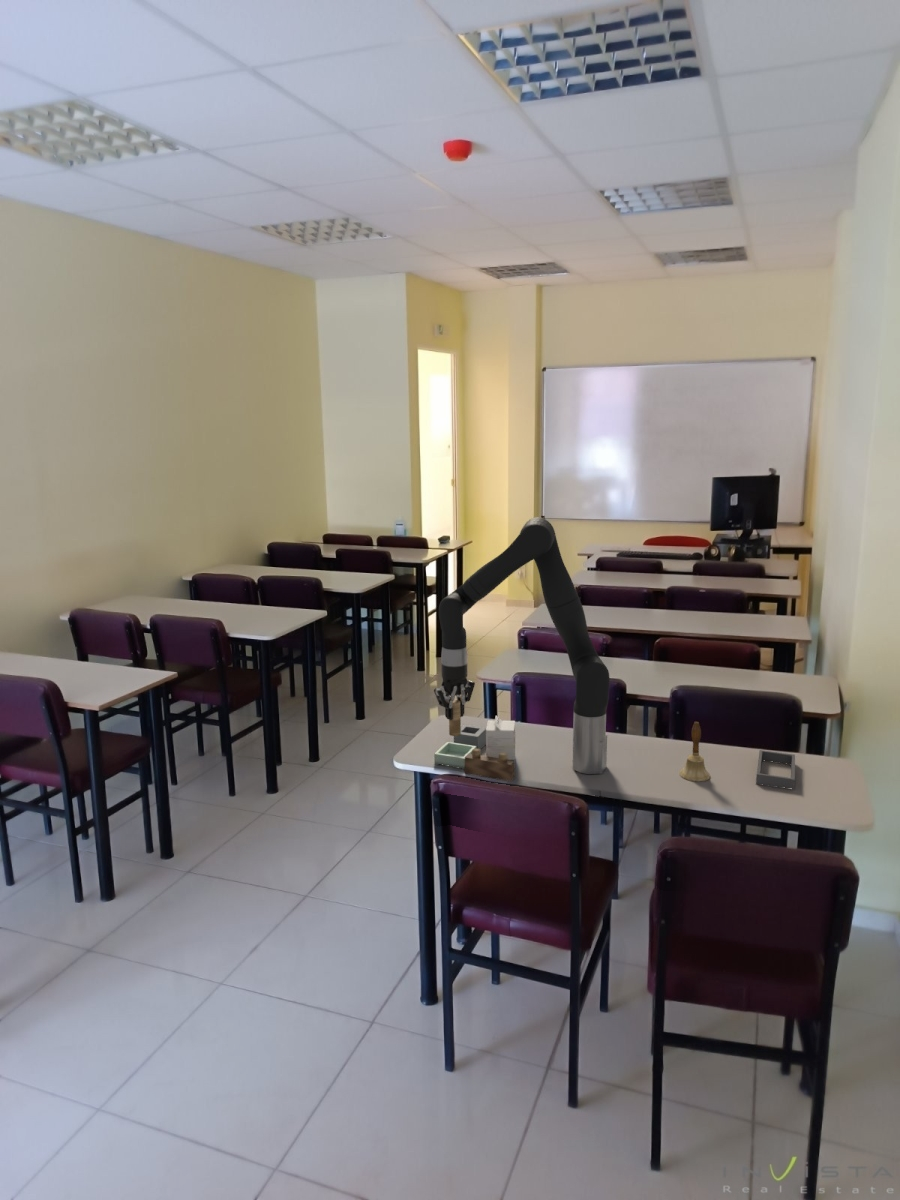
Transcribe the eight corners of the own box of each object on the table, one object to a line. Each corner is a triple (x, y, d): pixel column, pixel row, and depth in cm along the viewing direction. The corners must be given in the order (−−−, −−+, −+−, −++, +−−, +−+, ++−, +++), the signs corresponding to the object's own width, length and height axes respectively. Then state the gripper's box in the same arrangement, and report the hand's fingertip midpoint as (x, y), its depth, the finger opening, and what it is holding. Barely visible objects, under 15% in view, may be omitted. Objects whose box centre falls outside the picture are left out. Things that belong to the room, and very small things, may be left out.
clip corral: (794, 764, 231) (795, 754, 231) (793, 789, 215) (794, 779, 215) (758, 759, 235) (759, 749, 234) (755, 784, 219) (756, 774, 218)
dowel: (463, 734, 236) (462, 702, 233) (454, 737, 233) (453, 704, 231) (455, 730, 238) (455, 699, 236) (446, 733, 236) (446, 701, 234)
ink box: (514, 768, 231) (514, 725, 228) (485, 767, 232) (485, 724, 229) (515, 756, 240) (515, 714, 237) (487, 755, 241) (487, 714, 238)
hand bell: (689, 783, 220) (692, 729, 217) (673, 771, 228) (676, 718, 225) (716, 779, 222) (719, 725, 219) (699, 767, 230) (702, 715, 227)
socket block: (487, 742, 251) (487, 727, 249) (478, 752, 243) (477, 736, 242) (463, 738, 254) (463, 724, 253) (453, 748, 246) (453, 733, 245)
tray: (476, 756, 240) (476, 746, 239) (464, 769, 232) (464, 758, 231) (447, 751, 244) (447, 741, 243) (434, 764, 235) (434, 753, 235)
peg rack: (514, 777, 226) (514, 754, 224) (511, 781, 223) (511, 758, 222) (468, 769, 231) (468, 746, 230) (464, 773, 229) (464, 750, 227)
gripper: (442, 669, 224) (443, 727, 228) (481, 660, 232) (481, 715, 236) (427, 663, 230) (428, 719, 233) (465, 654, 238) (465, 708, 242)
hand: (454, 717), depth 235 cm, fingers closed on dowel, 3 cm apart
